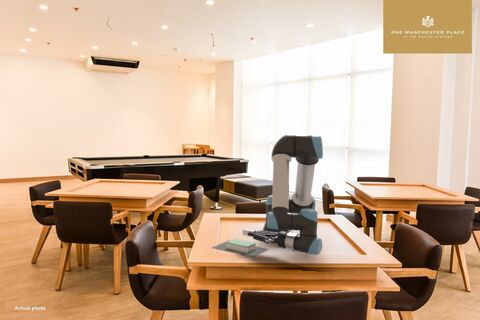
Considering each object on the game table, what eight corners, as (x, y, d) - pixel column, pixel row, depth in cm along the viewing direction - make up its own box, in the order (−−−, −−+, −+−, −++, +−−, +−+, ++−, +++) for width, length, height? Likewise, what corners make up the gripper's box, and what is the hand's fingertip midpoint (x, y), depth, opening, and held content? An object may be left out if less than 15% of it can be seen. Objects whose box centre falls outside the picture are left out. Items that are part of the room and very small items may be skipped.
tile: (255, 242, 183) (235, 238, 190) (247, 246, 177) (226, 242, 183) (255, 248, 184) (235, 244, 190) (247, 253, 177) (226, 248, 183)
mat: (269, 249, 184) (269, 249, 184) (253, 258, 170) (253, 257, 170) (229, 241, 197) (229, 240, 197) (211, 248, 183) (211, 247, 183)
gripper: (281, 252, 165) (236, 242, 177) (293, 245, 176) (249, 236, 188) (281, 235, 164) (236, 227, 176) (293, 229, 175) (250, 221, 187)
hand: (243, 231), depth 182 cm, fingers closed
